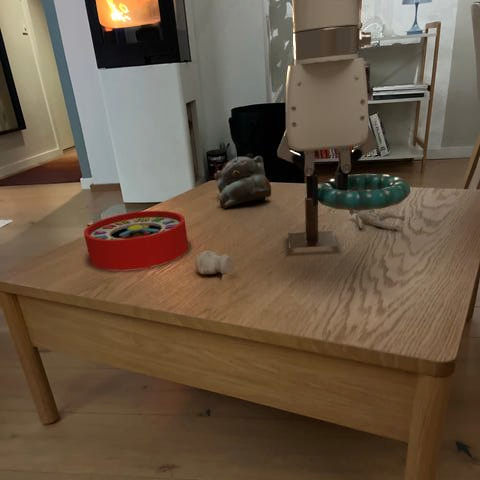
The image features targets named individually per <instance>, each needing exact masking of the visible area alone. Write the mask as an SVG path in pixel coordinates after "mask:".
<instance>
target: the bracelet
mask: <svg viewBox="0 0 480 480" xmlns="http://www.w3.org/2000/svg"><path fill="white" fill-rule="evenodd" d="M410 193H411V186H410V184H409V183H408V182H406V180H404V179H403V178H401V177H399V176H395V175H389V174H382V173H381V174H377V173H361V174H348V191H347V190H338V189H335V177H333V178H329V179H327V180H325V181H323V182H322V183H320V184H318V203H319V204H321V205H323V206H324V207H325V206H326V207H328V208H330V209H331V208H332V209H334V210H342V211H349V210H354V211H360V210H381V209H382V210H383V209H386V208H390V207H393V206H397V205H400V204H401V203H403V201H404V200H406V199H407V198H408V197H409V196H410Z"/></svg>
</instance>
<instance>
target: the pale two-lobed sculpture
mask: <svg viewBox="0 0 480 480" xmlns="http://www.w3.org/2000/svg"><path fill="white" fill-rule="evenodd" d="M194 265H195V266H194V267H195V269H196V271H197V272H198V273H199V274H201V275H215V274H217V273H220V274H221V275H222V276H223V275H229V274H230V273H232V272H234V271H235V263H234V261H233V259H232V258H231V256H229V254H227V253H223V254H222V255H219V254H217V253H216V252H214V251H212V250H205V251H203V252H200V253H199V254H198V256H197V257H196V259H195V263H194Z"/></svg>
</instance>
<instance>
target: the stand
mask: <svg viewBox="0 0 480 480" xmlns="http://www.w3.org/2000/svg"><path fill="white" fill-rule="evenodd" d="M304 209H305V210H304V211H305V212H304V213H305V214H304V216H305V217H304V218H305V232H303V231H302V232H288V233H287V236H288V238H287V240H288V248H289V249H300V248H318V247H319V248H320V247H337V246H338V242H337V239H336V237H335V234H334V231H333V230H322V231H319V204H318V205H317V206H313V205H312V200H311V198H309V199H307V196H305V198H304Z"/></svg>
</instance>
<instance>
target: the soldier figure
mask: <svg viewBox="0 0 480 480" xmlns="http://www.w3.org/2000/svg"><path fill="white" fill-rule="evenodd" d="M348 211H349V214H350V215H351V216H353V215H354V214H355V220H356V223H357V225H358V226H357V227H358V228H360V229H361V230H363V227H364V224H363V221H364V222H365V223H369V224H370V225H371V226H375V227H380V228H383V229H392V230H393V229H394V230H395V231H398V230H399V229H400V228H399V225H396V224H395V225H393V224H390V223H388V222H387V221H385V220H387V219H396V220H397V219H398V220H401V221H402V222H405V220H406V218H405V216H406V215H404V214H402V215H399V214H397V213H394V212H393V211H385V212H382V213H379V212H377V211H376V209H374V210H360V211H354V210H348Z"/></svg>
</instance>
